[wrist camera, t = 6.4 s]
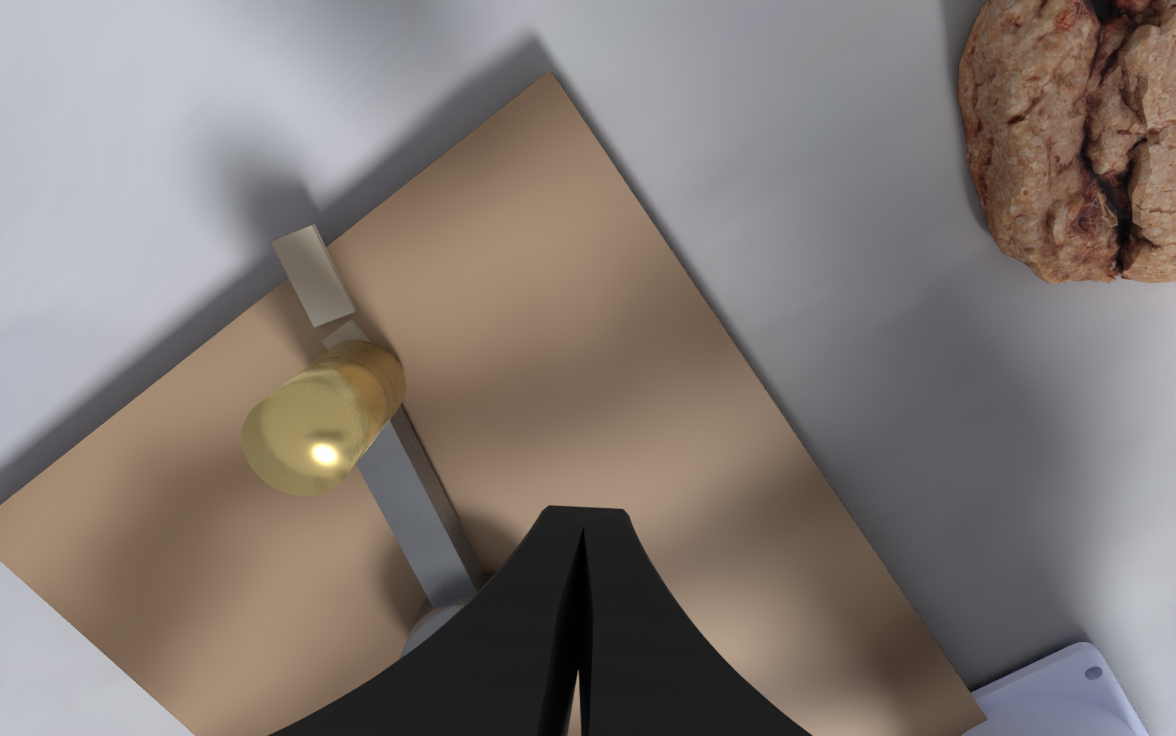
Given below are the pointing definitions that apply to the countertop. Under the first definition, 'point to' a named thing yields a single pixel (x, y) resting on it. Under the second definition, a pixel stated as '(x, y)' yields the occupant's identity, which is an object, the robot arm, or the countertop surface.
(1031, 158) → the cookie
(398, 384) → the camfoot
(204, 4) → the countertop surface
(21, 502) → the brown cutting board
